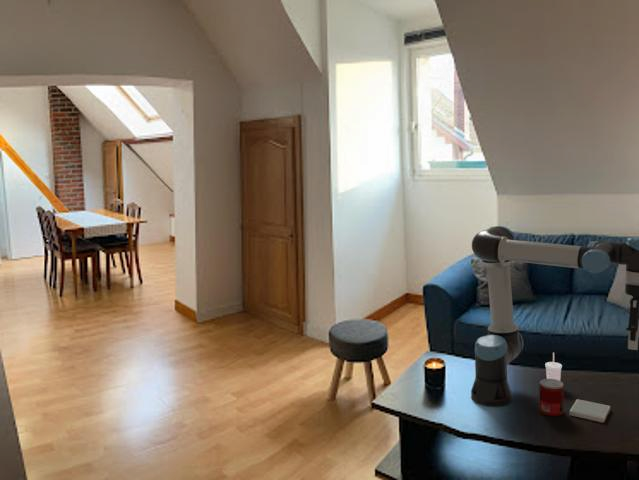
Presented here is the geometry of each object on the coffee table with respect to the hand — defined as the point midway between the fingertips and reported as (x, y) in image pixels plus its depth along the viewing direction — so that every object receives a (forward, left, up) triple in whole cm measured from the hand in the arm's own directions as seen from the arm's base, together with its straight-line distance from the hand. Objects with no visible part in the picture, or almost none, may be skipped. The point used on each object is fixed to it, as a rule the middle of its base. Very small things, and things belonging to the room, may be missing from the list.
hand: (635, 343), depth 187 cm
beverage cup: (-29, +10, -26) cm, 41 cm away
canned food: (-24, -12, -26) cm, 38 cm away
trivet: (-13, -6, -26) cm, 30 cm away
